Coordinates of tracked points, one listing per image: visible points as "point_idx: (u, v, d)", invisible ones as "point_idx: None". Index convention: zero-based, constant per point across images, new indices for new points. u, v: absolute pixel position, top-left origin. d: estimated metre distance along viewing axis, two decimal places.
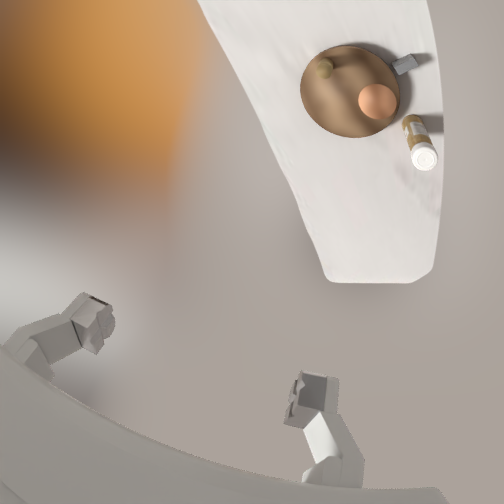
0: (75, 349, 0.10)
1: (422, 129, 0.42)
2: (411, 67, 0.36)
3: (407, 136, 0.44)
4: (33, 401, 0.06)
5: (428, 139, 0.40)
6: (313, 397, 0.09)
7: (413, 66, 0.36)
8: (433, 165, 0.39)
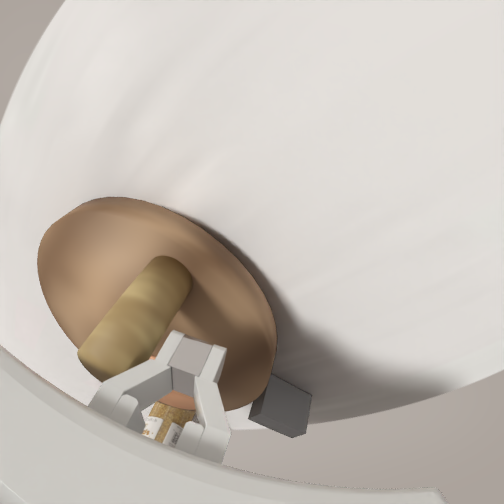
0: (166, 393, 0.10)
1: None
2: (280, 431, 0.19)
3: None
4: (33, 401, 0.06)
5: None
6: (192, 362, 0.10)
7: (285, 433, 0.19)
8: None
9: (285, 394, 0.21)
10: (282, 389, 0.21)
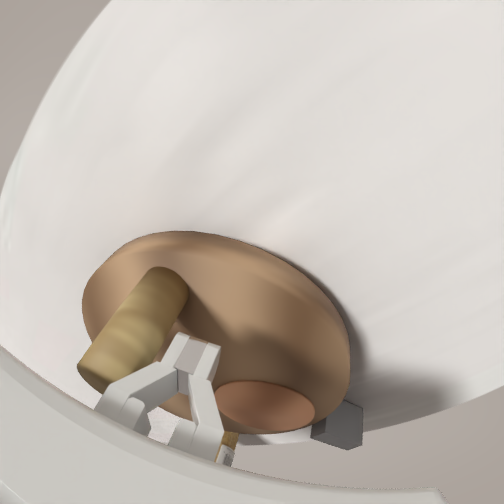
0: (172, 395, 0.10)
1: None
2: (338, 445, 0.19)
3: None
4: (33, 401, 0.06)
5: None
6: (186, 360, 0.10)
7: (342, 447, 0.19)
8: None
9: (342, 411, 0.20)
10: (339, 406, 0.20)
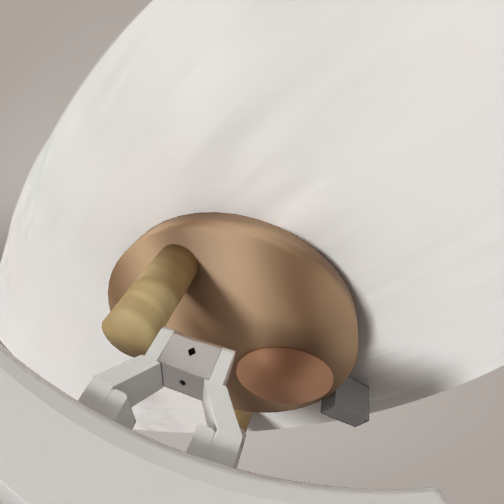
0: (157, 389, 0.10)
1: (238, 459, 0.23)
2: (347, 421, 0.21)
3: None
4: (33, 401, 0.06)
5: None
6: (201, 365, 0.10)
7: (350, 423, 0.21)
8: None
9: (350, 387, 0.22)
10: (347, 383, 0.22)
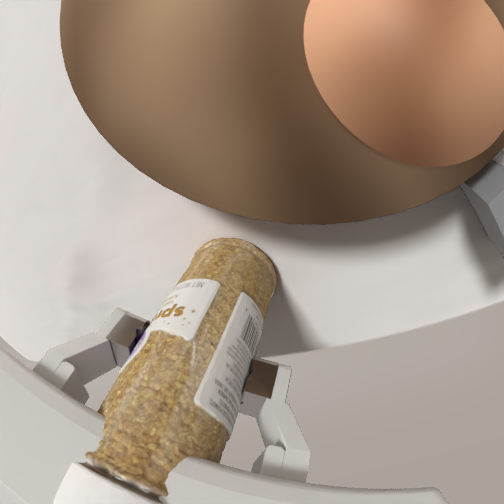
0: (110, 368, 0.10)
1: (244, 386, 0.10)
2: None
3: (170, 332, 0.09)
4: (33, 401, 0.06)
5: None
6: (261, 384, 0.09)
7: None
8: None
9: None
10: None
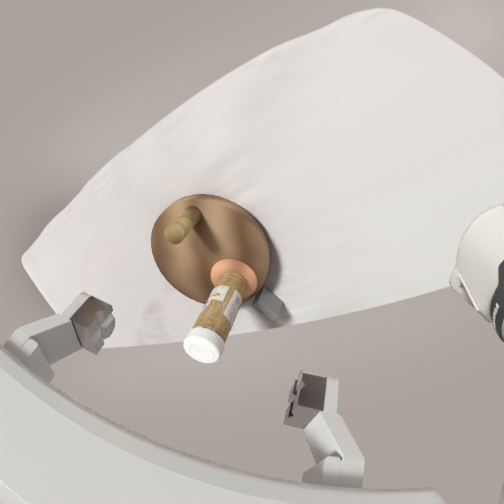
0: (75, 349, 0.10)
1: (235, 315, 0.37)
2: (266, 315, 0.45)
3: (216, 299, 0.37)
4: (33, 401, 0.06)
5: (227, 334, 0.35)
6: (313, 397, 0.09)
7: (269, 317, 0.45)
8: (199, 360, 0.33)
9: (270, 296, 0.46)
10: (269, 294, 0.46)
